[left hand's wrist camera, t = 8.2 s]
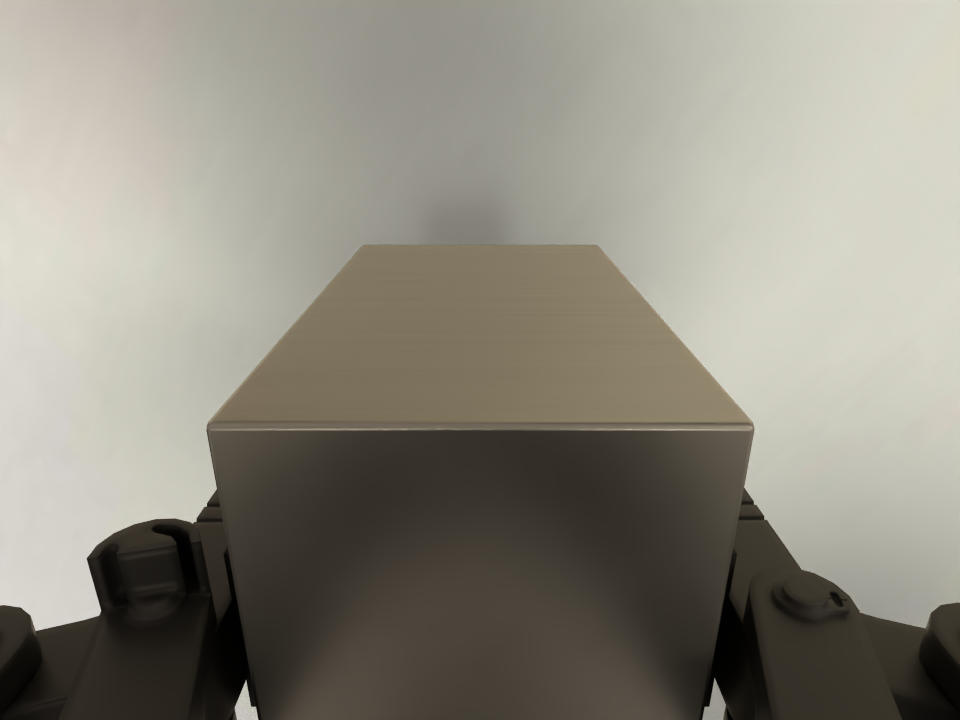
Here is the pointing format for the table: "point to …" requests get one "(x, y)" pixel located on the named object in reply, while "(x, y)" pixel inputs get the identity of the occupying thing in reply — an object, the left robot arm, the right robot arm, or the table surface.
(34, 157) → the table surface
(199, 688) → the left robot arm
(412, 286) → the bar
